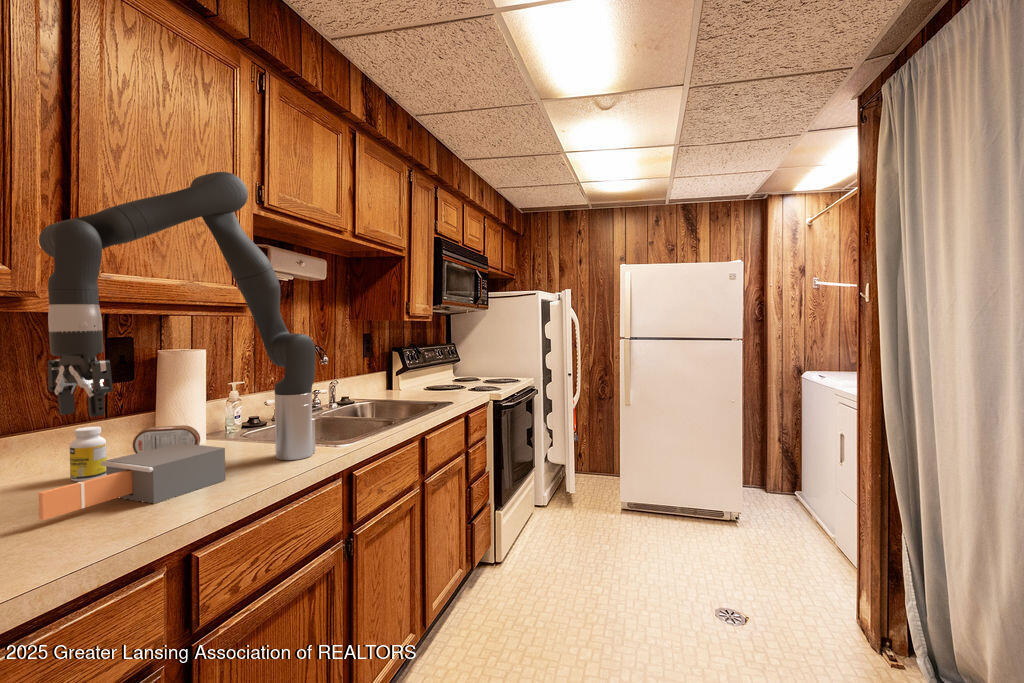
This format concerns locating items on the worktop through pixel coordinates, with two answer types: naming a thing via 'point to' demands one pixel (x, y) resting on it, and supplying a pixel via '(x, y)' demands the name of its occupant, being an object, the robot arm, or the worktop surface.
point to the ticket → (84, 494)
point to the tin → (165, 437)
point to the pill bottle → (87, 454)
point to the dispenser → (170, 470)
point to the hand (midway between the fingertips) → (81, 414)
